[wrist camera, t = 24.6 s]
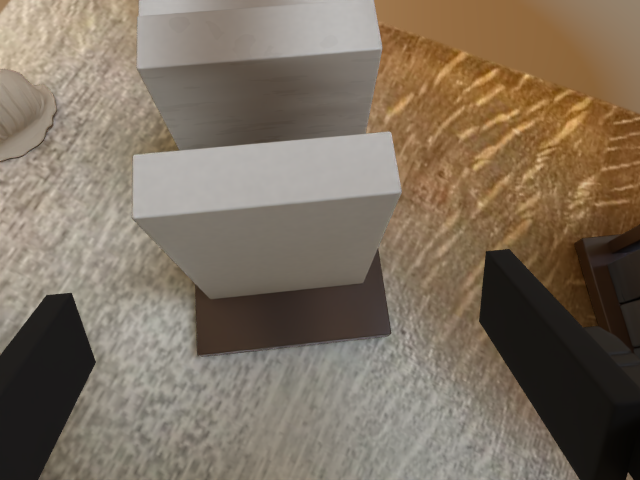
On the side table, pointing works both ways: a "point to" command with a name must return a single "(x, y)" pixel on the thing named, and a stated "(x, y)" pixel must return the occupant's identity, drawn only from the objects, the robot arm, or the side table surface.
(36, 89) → the decorative ornament
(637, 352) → the grey rack
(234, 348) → the beige and brown bookend
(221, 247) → the white book
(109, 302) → the side table surface
